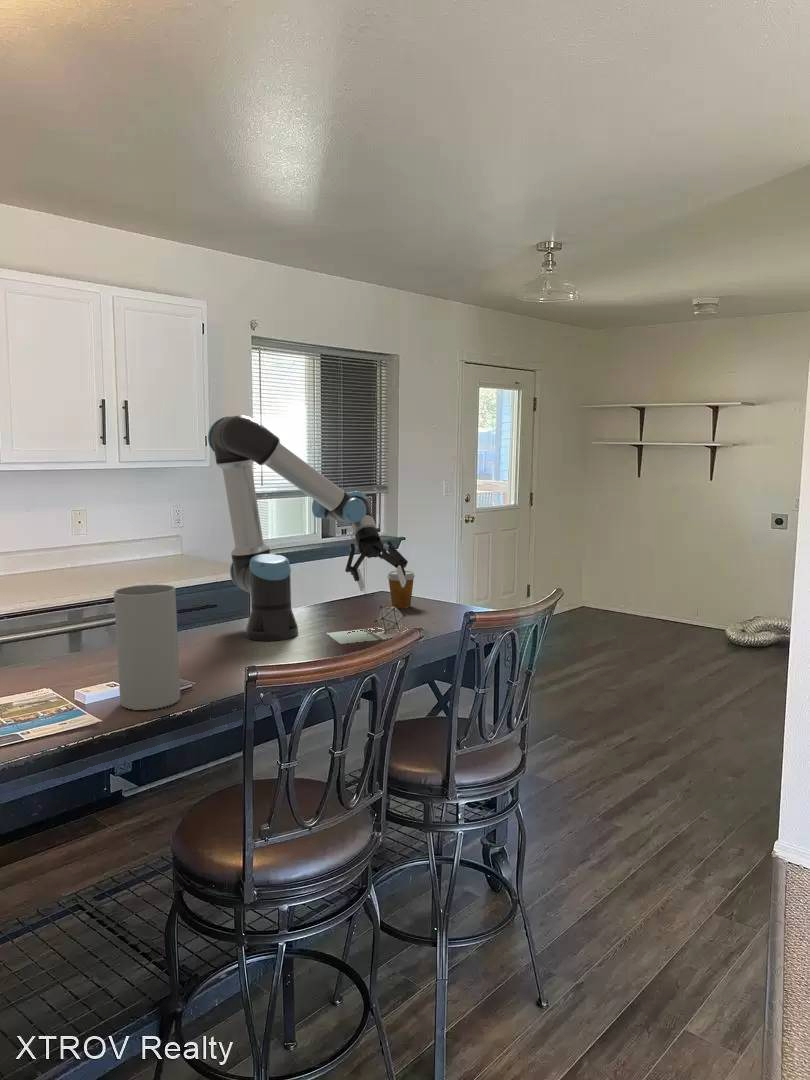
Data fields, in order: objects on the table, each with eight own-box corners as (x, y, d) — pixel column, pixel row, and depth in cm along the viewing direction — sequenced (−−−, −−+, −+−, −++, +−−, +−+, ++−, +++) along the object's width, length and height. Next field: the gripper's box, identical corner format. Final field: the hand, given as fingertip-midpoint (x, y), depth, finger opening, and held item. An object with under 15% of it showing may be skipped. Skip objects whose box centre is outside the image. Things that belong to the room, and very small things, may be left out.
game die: (395, 644, 232) (405, 622, 226) (368, 634, 232) (377, 612, 225) (401, 624, 239) (411, 602, 233) (375, 614, 239) (384, 592, 232)
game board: (340, 644, 219) (340, 643, 219) (325, 633, 232) (325, 633, 232) (418, 635, 228) (418, 635, 228) (400, 625, 241) (400, 625, 241)
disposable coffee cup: (419, 605, 272) (419, 571, 270) (407, 610, 263) (406, 575, 262) (395, 603, 276) (395, 569, 275) (382, 608, 268) (382, 573, 266)
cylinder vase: (191, 701, 171) (186, 588, 168) (139, 716, 162) (133, 597, 159) (161, 690, 179) (155, 582, 176) (109, 703, 170) (103, 590, 167)
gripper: (398, 537, 259) (417, 590, 247) (326, 542, 249) (342, 597, 238) (404, 523, 253) (424, 576, 242) (331, 527, 244) (347, 583, 232)
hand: (383, 586), depth 240 cm, fingers open, 13 cm apart
